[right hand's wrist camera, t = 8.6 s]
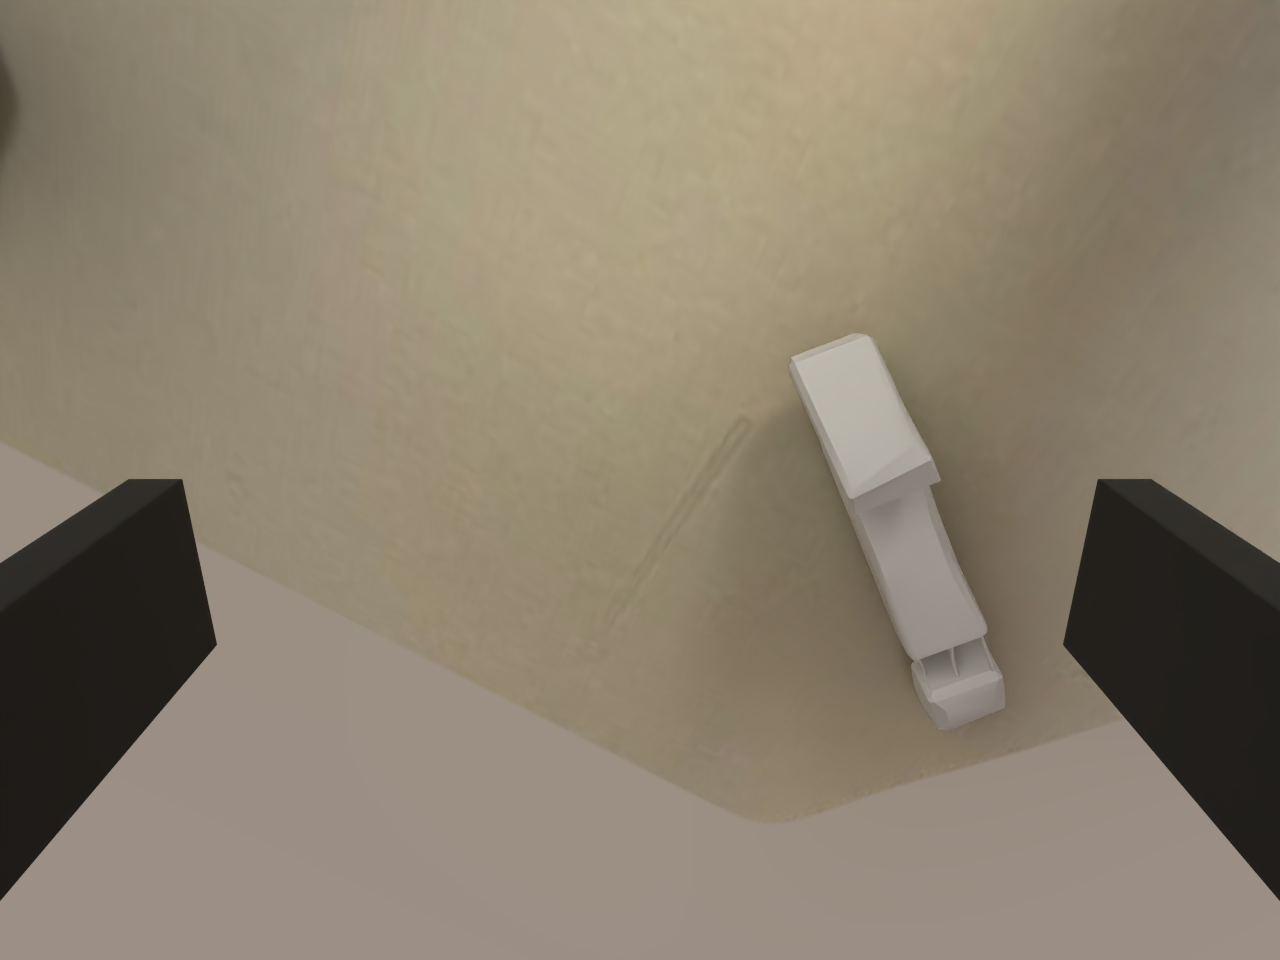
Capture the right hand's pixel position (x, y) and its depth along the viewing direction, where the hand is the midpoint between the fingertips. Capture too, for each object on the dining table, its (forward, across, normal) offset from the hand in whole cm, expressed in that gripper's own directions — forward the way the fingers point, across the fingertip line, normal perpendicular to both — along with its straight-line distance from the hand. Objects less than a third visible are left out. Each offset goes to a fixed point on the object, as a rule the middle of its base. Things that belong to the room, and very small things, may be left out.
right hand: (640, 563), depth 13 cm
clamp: (+25, -12, +11) cm, 30 cm away
